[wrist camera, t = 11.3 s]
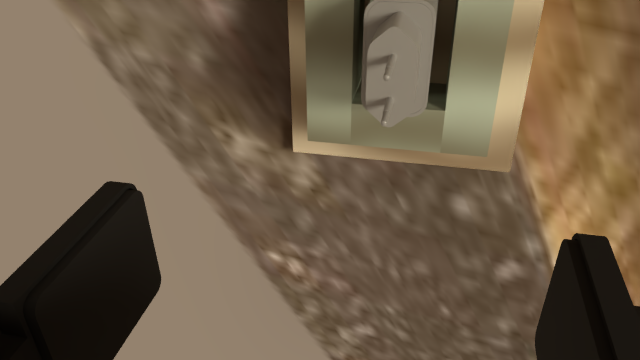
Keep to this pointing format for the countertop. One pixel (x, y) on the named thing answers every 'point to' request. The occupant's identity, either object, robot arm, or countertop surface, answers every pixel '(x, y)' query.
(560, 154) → the countertop surface
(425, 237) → the countertop surface
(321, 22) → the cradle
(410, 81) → the power adapter
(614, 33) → the countertop surface
